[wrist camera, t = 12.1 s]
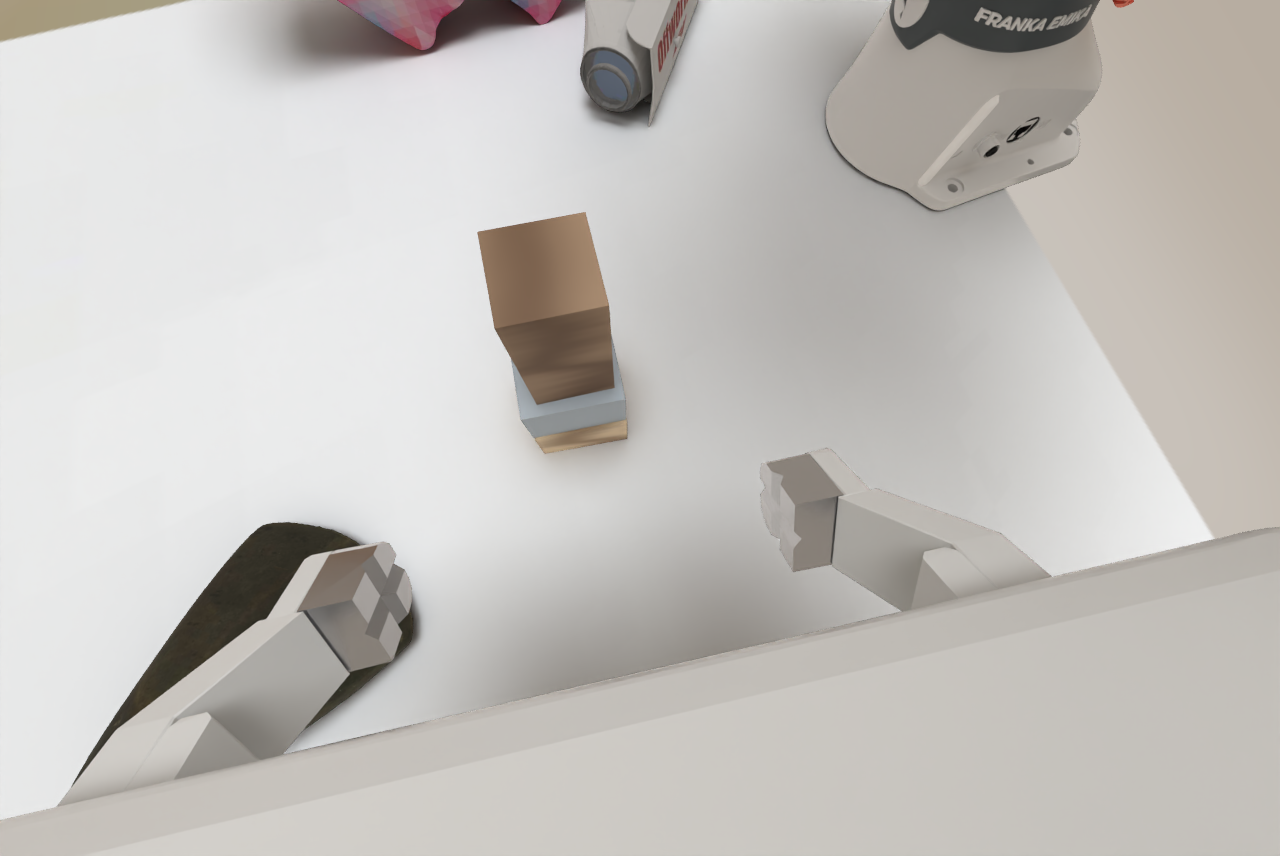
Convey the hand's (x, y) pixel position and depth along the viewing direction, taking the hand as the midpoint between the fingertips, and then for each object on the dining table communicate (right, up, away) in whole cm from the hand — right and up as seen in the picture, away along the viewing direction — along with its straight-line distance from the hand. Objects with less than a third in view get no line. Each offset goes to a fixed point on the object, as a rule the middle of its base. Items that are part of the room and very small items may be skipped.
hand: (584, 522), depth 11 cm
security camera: (+1, +41, +36) cm, 54 cm away
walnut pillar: (-3, +6, +17) cm, 19 cm away
